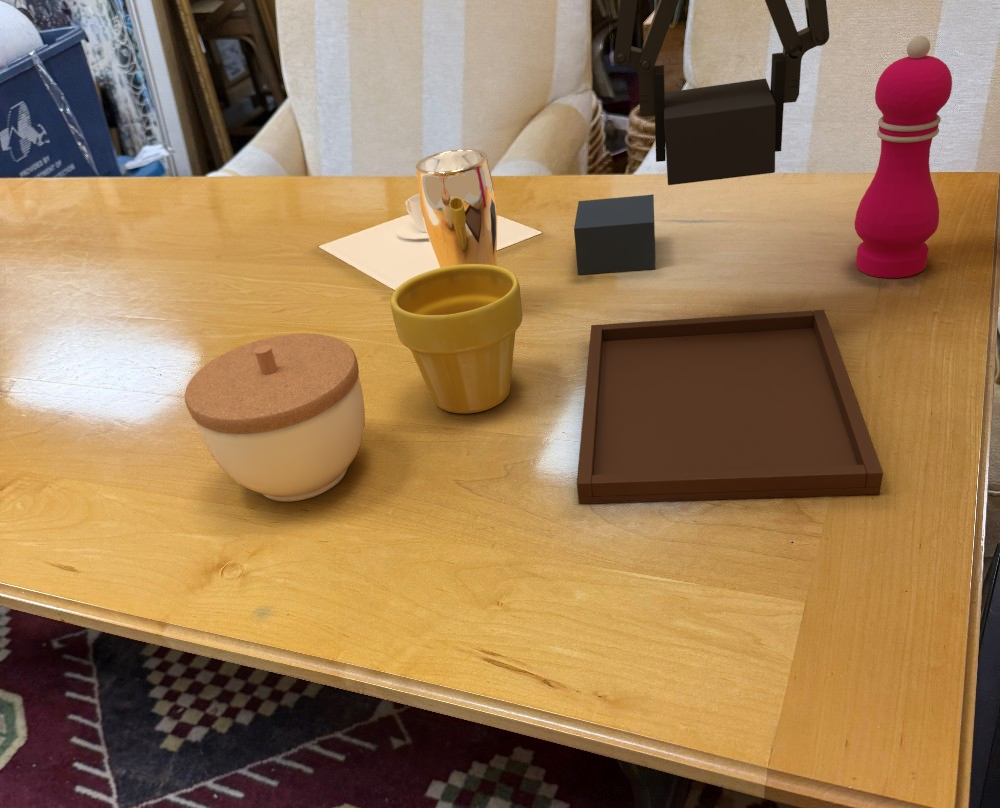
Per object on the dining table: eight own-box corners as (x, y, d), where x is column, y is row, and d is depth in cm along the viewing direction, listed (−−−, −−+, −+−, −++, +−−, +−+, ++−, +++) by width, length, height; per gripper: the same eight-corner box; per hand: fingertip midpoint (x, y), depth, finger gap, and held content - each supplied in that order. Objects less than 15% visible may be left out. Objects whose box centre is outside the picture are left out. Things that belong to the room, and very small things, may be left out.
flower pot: (461, 355, 84) (443, 254, 78) (555, 377, 78) (543, 270, 73) (388, 410, 78) (362, 305, 72) (484, 438, 72) (465, 326, 66)
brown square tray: (822, 328, 79) (824, 309, 78) (880, 494, 60) (883, 472, 59) (592, 342, 83) (591, 324, 82) (578, 504, 64) (576, 483, 63)
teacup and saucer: (476, 228, 110) (471, 195, 107) (420, 249, 107) (413, 215, 104) (439, 213, 116) (433, 181, 113) (385, 232, 113) (378, 200, 110)
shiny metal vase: (431, 310, 93) (403, 161, 84) (494, 291, 94) (472, 143, 86) (456, 335, 87) (428, 179, 79) (521, 314, 89) (501, 159, 80)
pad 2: (765, 142, 75) (766, 78, 72) (775, 173, 69) (775, 103, 66) (667, 154, 77) (664, 92, 74) (667, 185, 71) (663, 118, 68)
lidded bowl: (238, 545, 65) (186, 415, 59) (211, 462, 75) (164, 341, 68) (402, 487, 68) (371, 357, 62) (356, 414, 78) (325, 294, 71)
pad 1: (654, 239, 100) (653, 194, 97) (655, 269, 93) (653, 221, 91) (582, 245, 101) (578, 200, 98) (577, 275, 95) (573, 228, 92)
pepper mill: (836, 272, 87) (857, 45, 75) (870, 245, 91) (896, 25, 79) (911, 286, 83) (946, 48, 71) (944, 257, 87) (982, 26, 75)
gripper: (556, -180, 58) (582, 177, 72) (905, -235, 54) (863, 154, 68) (566, -182, 64) (588, 148, 78) (882, -232, 60) (847, 125, 74)
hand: (716, 151), depth 73 cm, fingers closed on pad 2, 8 cm apart
